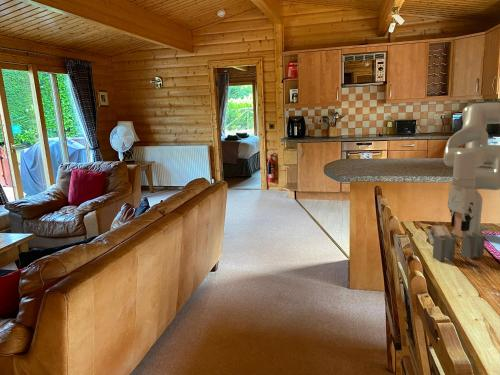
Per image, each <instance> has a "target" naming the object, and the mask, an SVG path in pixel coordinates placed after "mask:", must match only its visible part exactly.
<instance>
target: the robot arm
mask: <svg viewBox="0 0 500 375" xmlns="http://www.w3.org/2000/svg"><path fill="white" fill-rule="evenodd" d="M461 114H462V115H461V117H462V118H461V119H462V127H461V129H460V130H458V131H456V132H454V134H452V136H450V137H449V139H448V140H447V141H446V144H445V148H444V151H443V163H444V165H446V166H448V167H453V171H452V172H453V173H452V184H451V185H450V187H449V191H448V192H449V193H448V197H447V209H448V210H449V213H450V217H451V219H450V220H451V221H450V222H451V223H450V227H452V228H454V218H455V217H454V216H455V212H458V213H461V214H462V217H463V221H461V231H466V233H467V234H470V235H472V232H477V233H479V234H481V235H484V236H485V234H484V233H483V231H489V230H490V226H488V225H484V226H483V225H482V224H481V221H482V210H483V197H482V194H481V193H480V192H479V191H478V190H486V191H488V190H489V191H499V190H500V144H488V141H489V133H488V132H487V130H486V129H487V125H490V124H491V125H492V124H495V125H497V124H500V102H477V103H473V104H470V105H467V106H465V107H464V108H463V110H462V113H461ZM462 145H465V147H460V146H462ZM482 166H483V167H482ZM489 167H490V168H489ZM466 214H467V217H466ZM451 233H452V235H453V236H455V237H457V238H462V237H461V236H458V235H456V234H454V233H453V230H452V232H451Z"/></svg>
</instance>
